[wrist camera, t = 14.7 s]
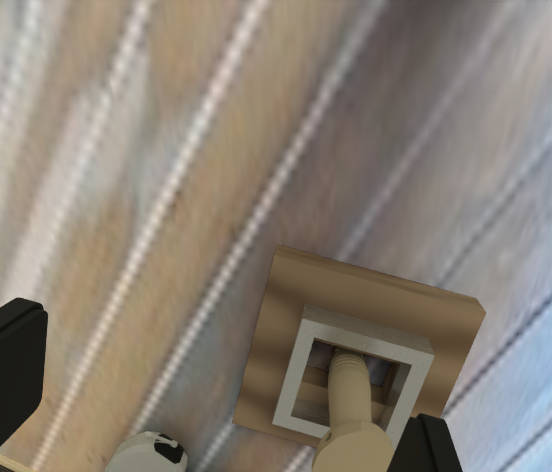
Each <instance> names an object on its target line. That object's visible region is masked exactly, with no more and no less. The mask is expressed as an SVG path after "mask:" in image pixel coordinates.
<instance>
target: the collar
mask: <svg viewBox="0 0 552 472" xmlns="http://www.w3.org/2000/svg"><path fill="white" fill-rule="evenodd" d="M314 337H315V338H319V339H322V340H326V341H329V342H333V343H337V344H340V345H344V346H347V347H351V348H354V349H358V350H361V351H365V352H368V353H372V354H376V355H379V356H383V357H386V358H390V359H393V360H397V361H400V362H401V364H400V367H399V369H398V372H397V375H396V377H395V380H394V382H393V385H392V388H391V390H390V393H389V395H388V398H387V400H386V403H385V406H384V408H383V411H382V413H381V416H380V419H379V421H377V420H374V419H371V421H372V423H373V424H375V425H377V426H378V427H380V428H381V429H382V430H383V431H384V432H386V434H387V435H388V436H389V438H390V439H391V442H392V445H393V448H394V452H395V450H396V448H397V445H398V443H399V440H400V438H401V435H402V433H403V431H404V428H405V426H406V423H407V421H408V419H409V416H410V414H411V411H412V409H413V407H414V404H415V402H416V399H417V397H418V395H419V392H420V390H421V387H422V385H423V383H424V380H425V378H426V375H427V373H428V370H429V368H430V366H431V363H432V361H433V358H434V356H435V355H434V352H433V350H432V347H431V344H430V342H429V339H428V338H427V337H423V336H419V335H416V334H412V333H409V332H405V331H401V330H398V329H394V328H391V327H387V326H383V325H380V324H376V323H373V322H369V321H365V320H362V319H358V318H355V317H351V316H347V315H344V314H340V313H337V312H333V311H329V310H326V309H322V308H319V307H315V306H311V305H308V304H305V305H304V309H303V312H302V315H301V319H300V322H299V326H298V329H297V333H296V336H295V340H294V343H293V347H292V350H291V354H290V357H289V361H288V364H287V367H286V371H285V374H284V378H283V381H282V385H281V388H280V392H279V395H278V399H277V402H276V406H275V411H274V416H273V421H272V424H274V425H278V426H281V427H285V428H288V429H291V430H295V431H298V432H302V433H305V434H308V435H312V436H315V437H319V438H323V436H324V435H325V434H326V433H327V431H328V430H330V413H329V406H325V405H322V404H319V403H315V402H312V401H308V400H305V399H301V398H298V397H296V396H297V393H298V390H299V386H300V383H301V380H302V376H303V373H304V370H305V367H306V363H307V360H308V357H309V354H310V350H311V347H312V344H313V340H314Z"/></svg>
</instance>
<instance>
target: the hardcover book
mask: <svg viewBox="0 0 552 472" xmlns="http://www.w3.org/2000/svg"><path fill="white" fill-rule="evenodd" d="M0 472H37V471H35V470H32V469H30V468H28V467H26V466H24V465H22V464H20V463H18V462H16V461H14V460H12V459H10V458H8V457H6V456H3V455H1V454H0Z"/></svg>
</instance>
